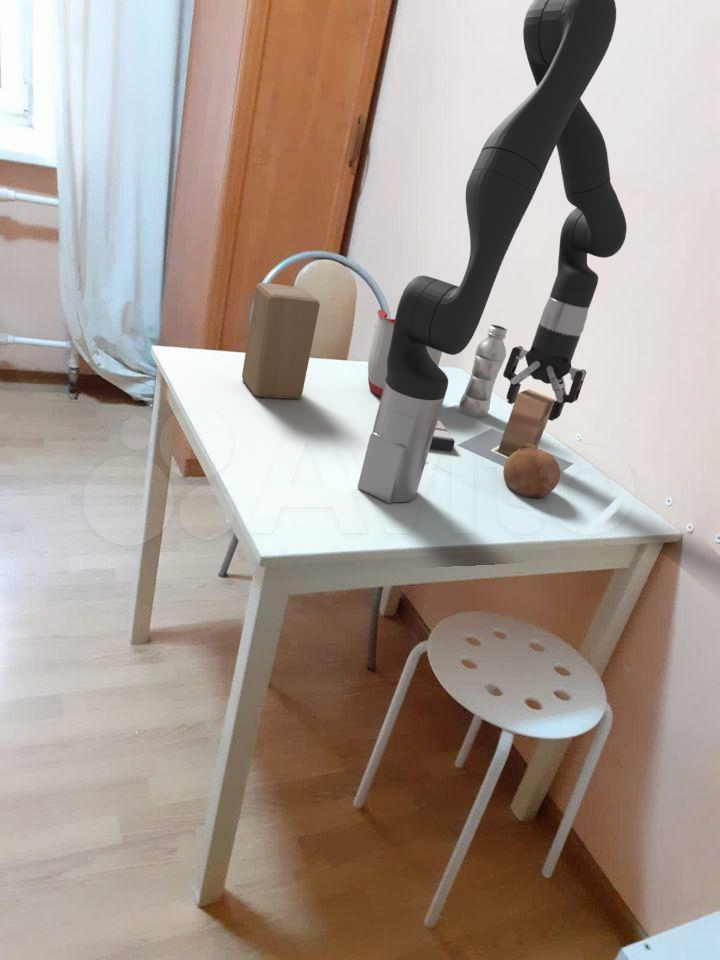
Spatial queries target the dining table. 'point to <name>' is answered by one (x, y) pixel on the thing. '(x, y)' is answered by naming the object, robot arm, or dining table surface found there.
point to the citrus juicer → (385, 353)
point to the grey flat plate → (489, 446)
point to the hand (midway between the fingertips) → (531, 411)
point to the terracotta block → (531, 411)
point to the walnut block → (517, 439)
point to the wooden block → (279, 340)
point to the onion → (531, 472)
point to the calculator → (442, 439)
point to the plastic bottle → (484, 373)
